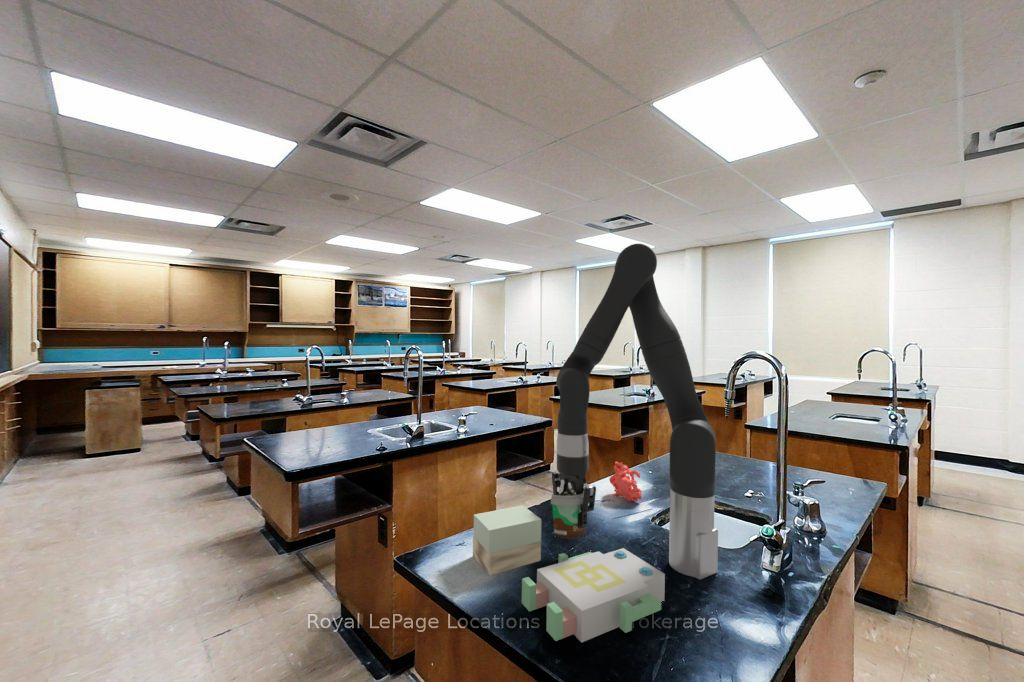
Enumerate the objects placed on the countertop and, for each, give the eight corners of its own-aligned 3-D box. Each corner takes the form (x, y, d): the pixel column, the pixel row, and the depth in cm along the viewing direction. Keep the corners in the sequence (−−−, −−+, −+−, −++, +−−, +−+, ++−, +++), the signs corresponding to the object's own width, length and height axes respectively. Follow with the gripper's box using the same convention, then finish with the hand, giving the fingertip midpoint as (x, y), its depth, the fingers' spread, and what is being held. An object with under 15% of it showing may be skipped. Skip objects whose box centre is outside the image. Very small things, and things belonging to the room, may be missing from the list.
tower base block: (540, 561, 97) (540, 540, 97) (490, 577, 91) (490, 554, 91) (520, 544, 105) (520, 524, 105) (472, 557, 99) (473, 536, 99)
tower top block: (541, 541, 97) (541, 519, 97) (489, 553, 91) (489, 530, 91) (522, 525, 105) (522, 505, 105) (473, 535, 99) (473, 514, 99)
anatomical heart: (637, 511, 130) (632, 476, 128) (605, 499, 139) (600, 467, 137) (652, 497, 135) (647, 463, 133) (620, 487, 144) (615, 455, 142)
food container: (574, 546, 93) (574, 500, 93) (550, 538, 97) (550, 494, 97) (599, 526, 103) (599, 485, 103) (577, 520, 107) (576, 480, 107)
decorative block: (610, 536, 96) (683, 581, 79) (609, 564, 97) (682, 615, 79) (511, 564, 84) (571, 624, 67) (510, 596, 84) (571, 665, 67)
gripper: (605, 456, 96) (605, 530, 96) (566, 443, 109) (566, 508, 109) (580, 461, 92) (580, 538, 92) (542, 447, 105) (542, 515, 105)
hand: (572, 522), depth 100 cm, fingers closed on food container, 5 cm apart
